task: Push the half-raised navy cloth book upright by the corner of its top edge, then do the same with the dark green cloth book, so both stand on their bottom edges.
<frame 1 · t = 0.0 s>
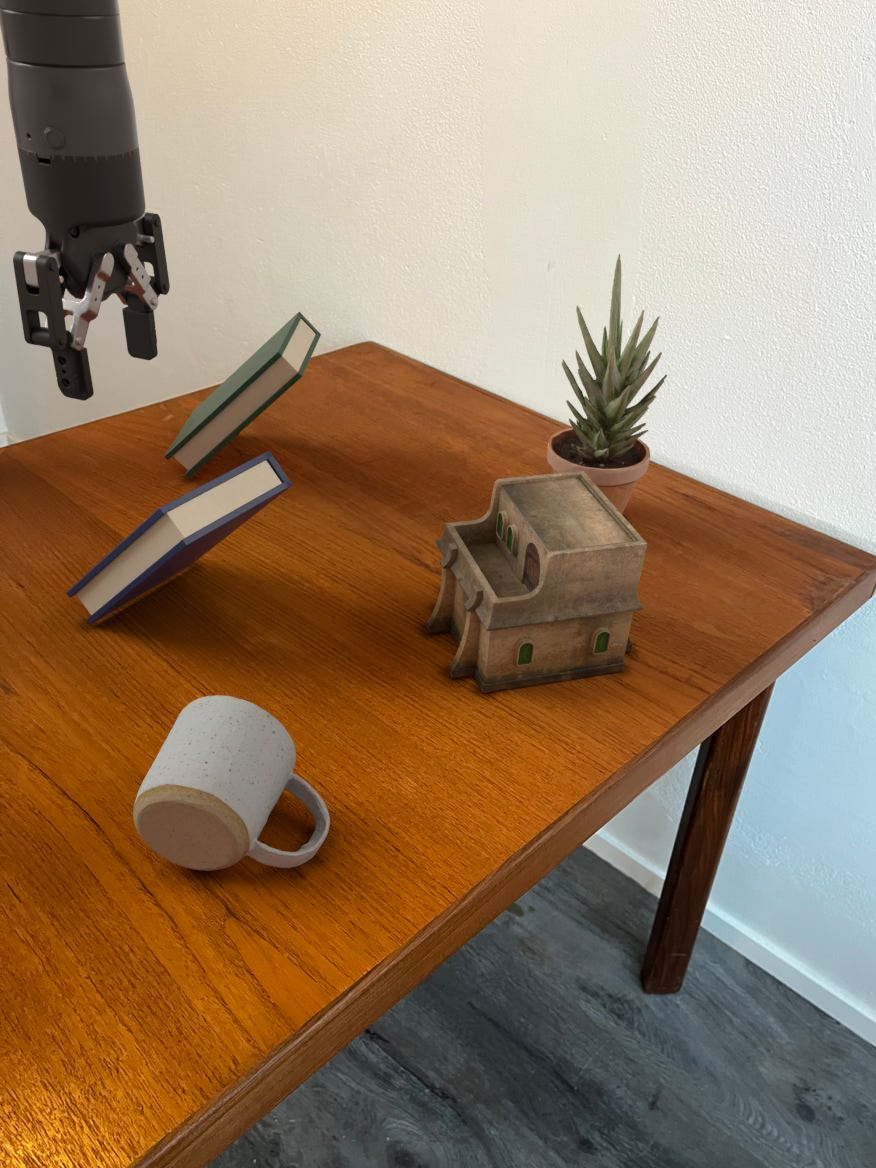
hand: (112, 376, 75), 16 cm above the table, tool pointing down, fingers open, 8 cm apart
green book: (244, 394, 98), point 7 cm above the table, hinge at 45.0°
potted plant: (587, 518, 98), on the table
miniature house: (523, 633, 81), on the table
ceramic mug: (241, 831, 62), on the table
navy book: (177, 539, 76), point 7 cm above the table, hinge at 45.0°
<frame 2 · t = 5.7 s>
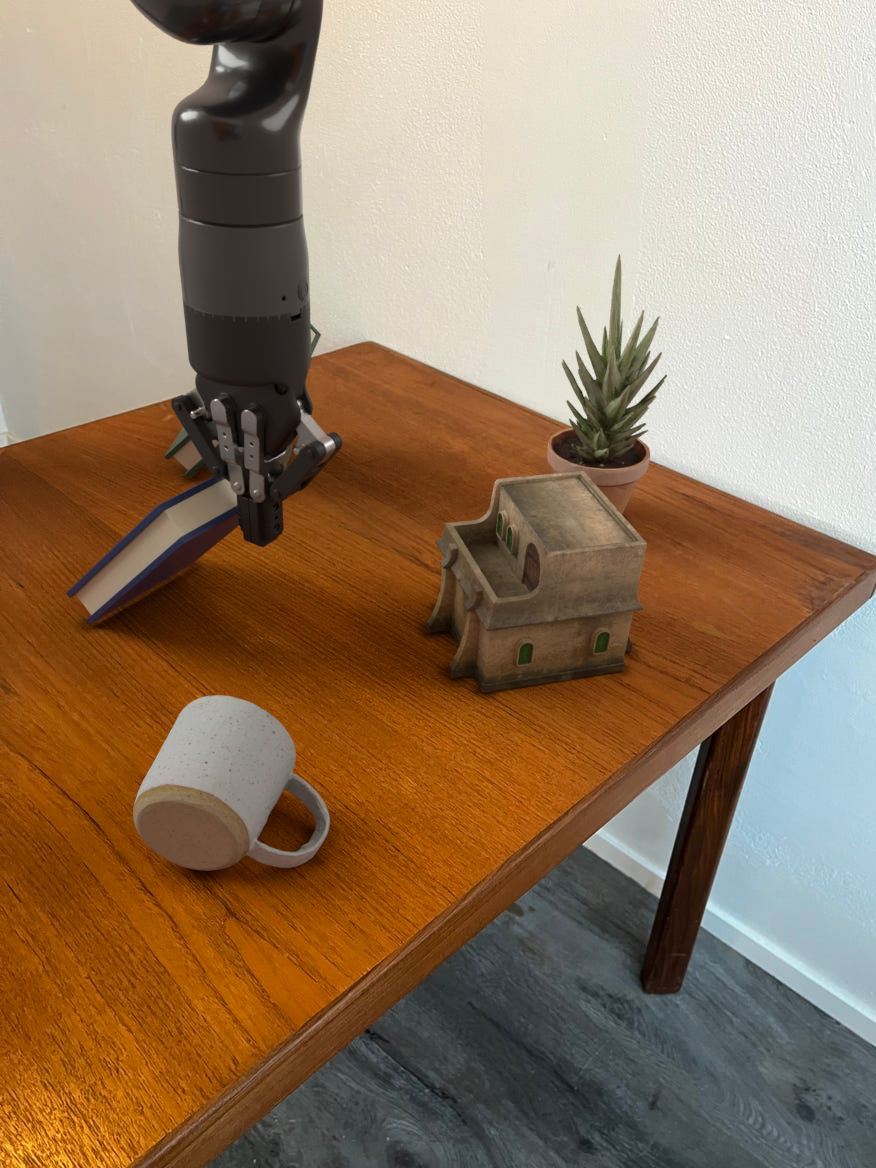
hand: (262, 539, 71), 10 cm above the table, tool pointing down, fingers closed
navy book: (176, 538, 76), point 7 cm above the table, hinge at 45.7°, touching gripper
everything else where it was.
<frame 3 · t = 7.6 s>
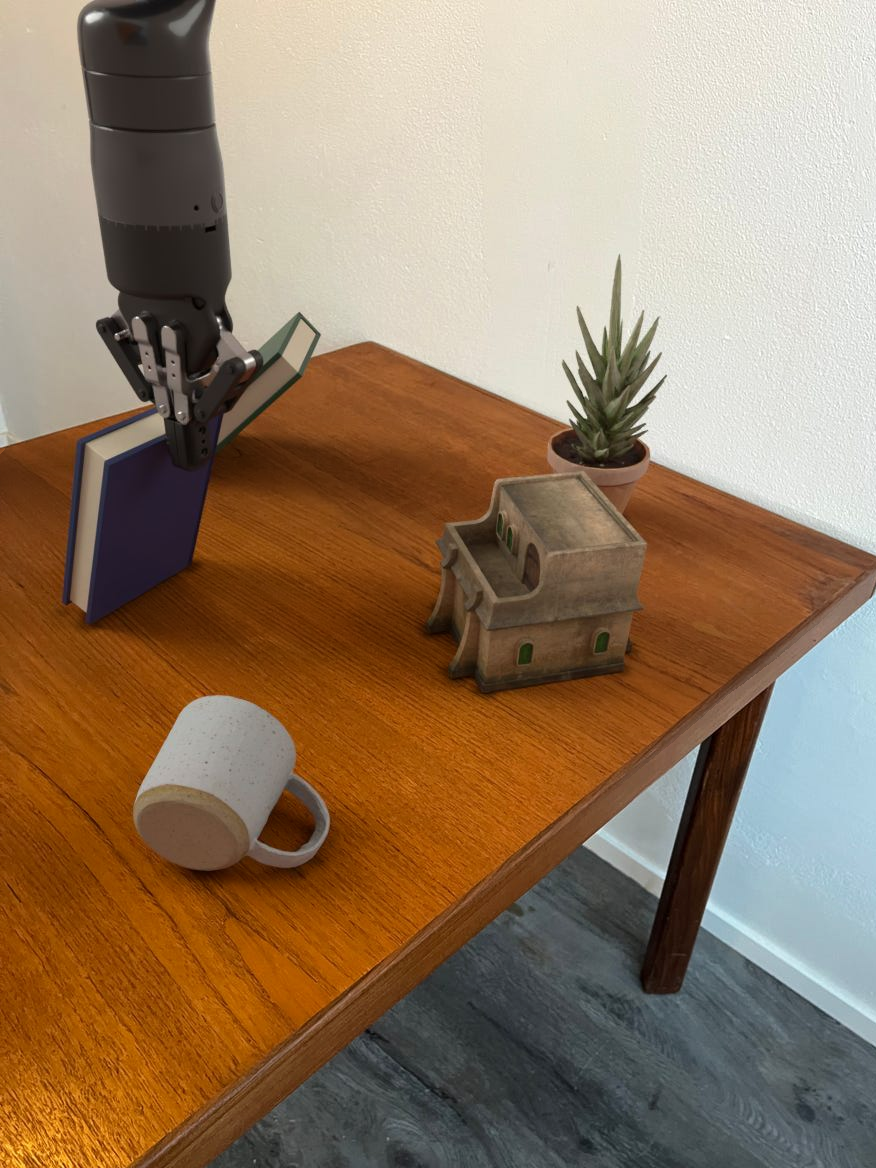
hand: (191, 465, 71), 14 cm above the table, tool pointing down, fingers closed
navy book: (141, 509, 76), point 8 cm above the table, hinge at 71.7°, touching gripper
everything else where it was.
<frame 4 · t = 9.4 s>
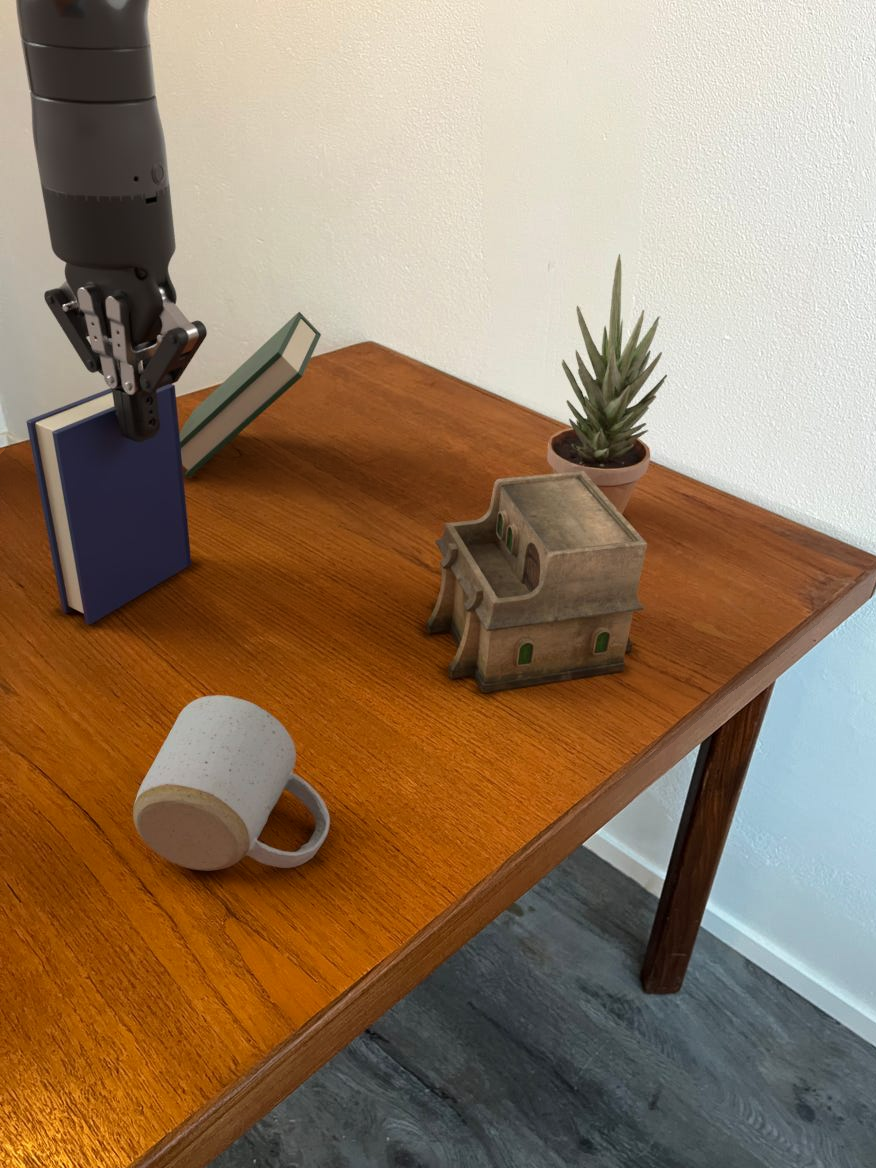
hand: (140, 436, 72), 14 cm above the table, tool pointing down, fingers closed
navy book: (117, 500, 77), point 8 cm above the table, hinge at 89.0°, touching gripper
everything else where it was.
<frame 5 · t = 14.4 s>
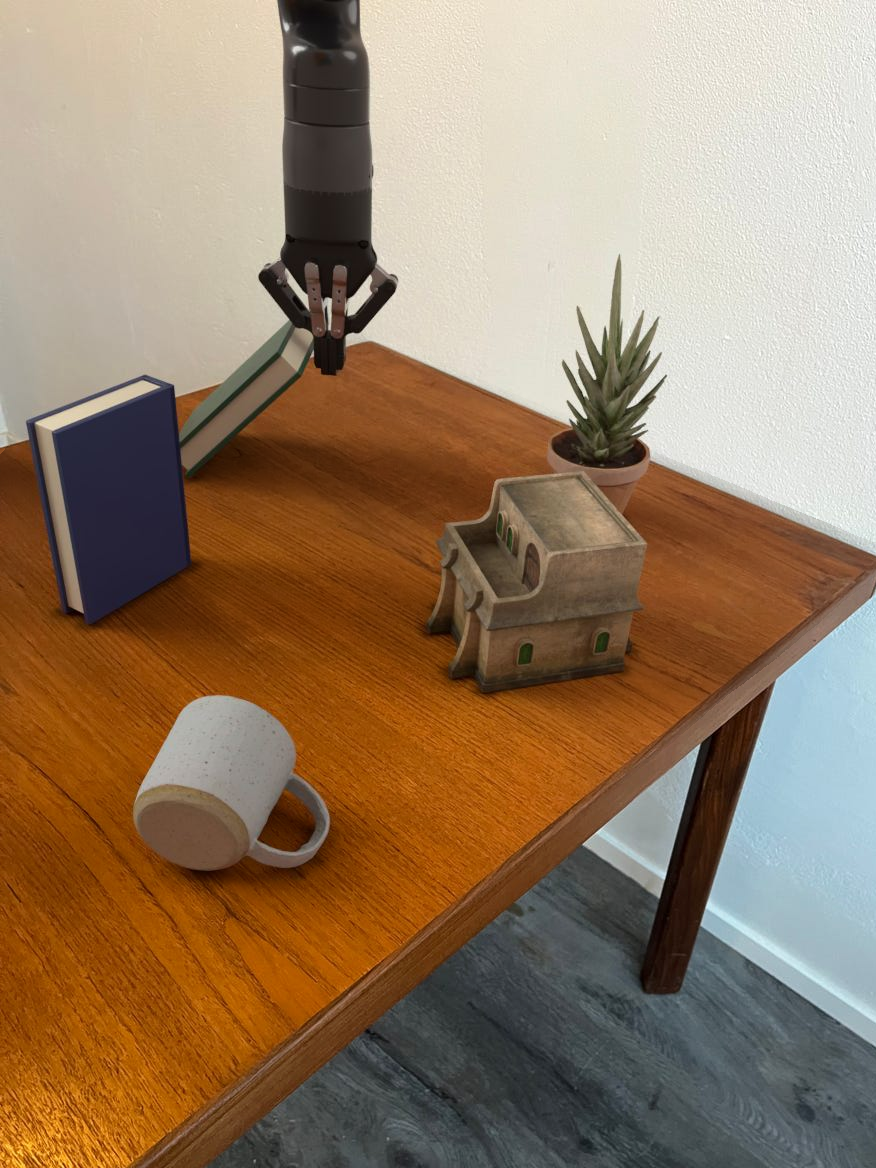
hand: (330, 372, 96), 10 cm above the table, tool pointing down, fingers closed
green book: (243, 394, 98), point 7 cm above the table, hinge at 45.2°, touching gripper
navy book: (117, 500, 77), point 8 cm above the table, hinge at 89.3°
everything else where it was.
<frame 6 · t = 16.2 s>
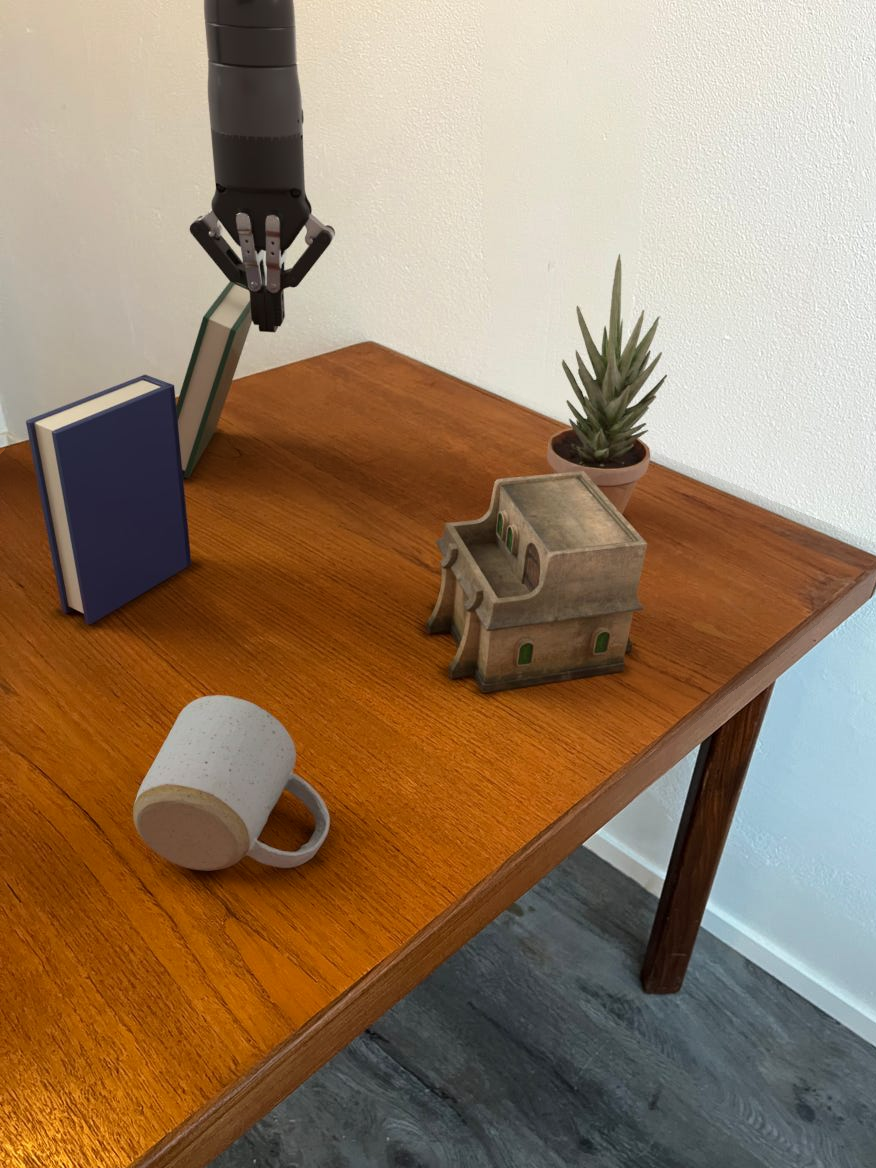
hand: (269, 329, 94), 13 cm above the table, tool pointing down, fingers closed
green book: (209, 378, 97), point 8 cm above the table, hinge at 69.5°, touching gripper
everything else where it was.
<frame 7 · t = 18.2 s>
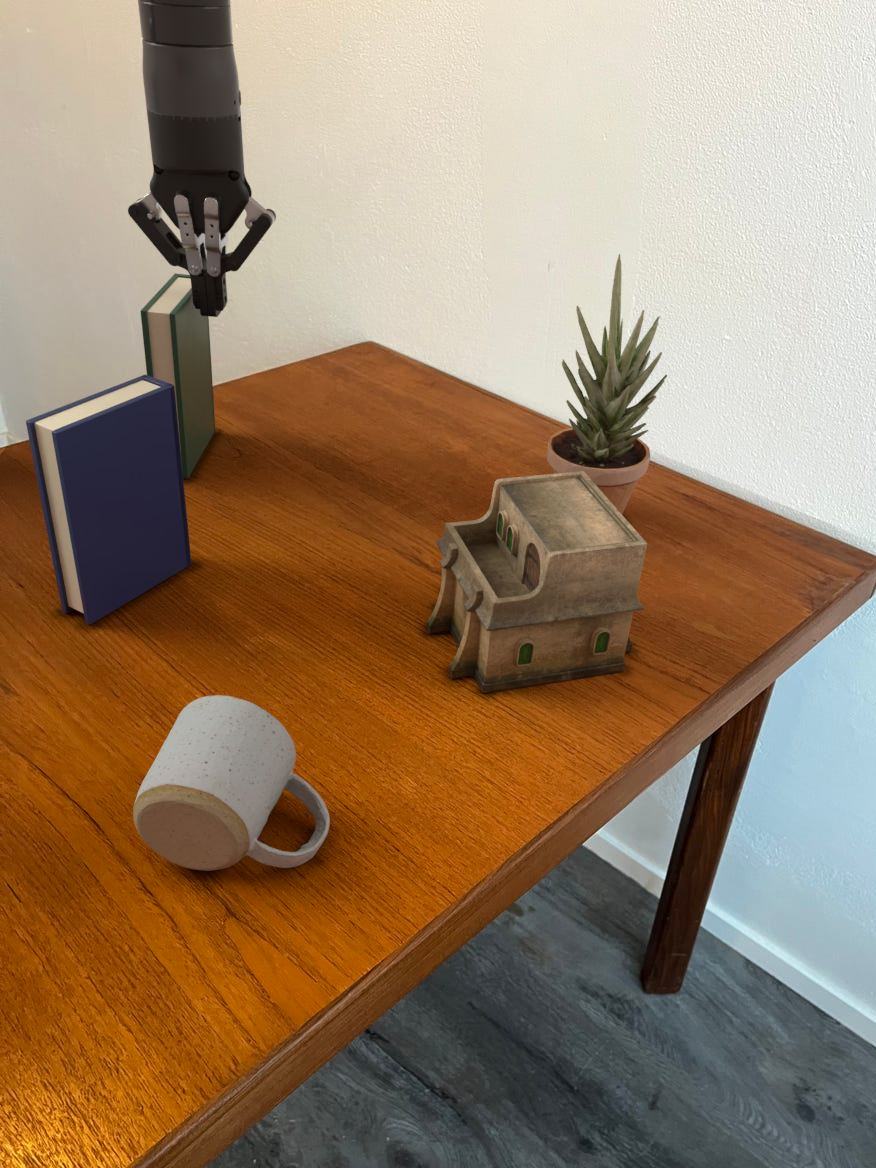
hand: (211, 313, 93), 14 cm above the table, tool pointing down, fingers closed
green book: (181, 376, 97), point 8 cm above the table, hinge at 88.8°, touching gripper
everything else where it was.
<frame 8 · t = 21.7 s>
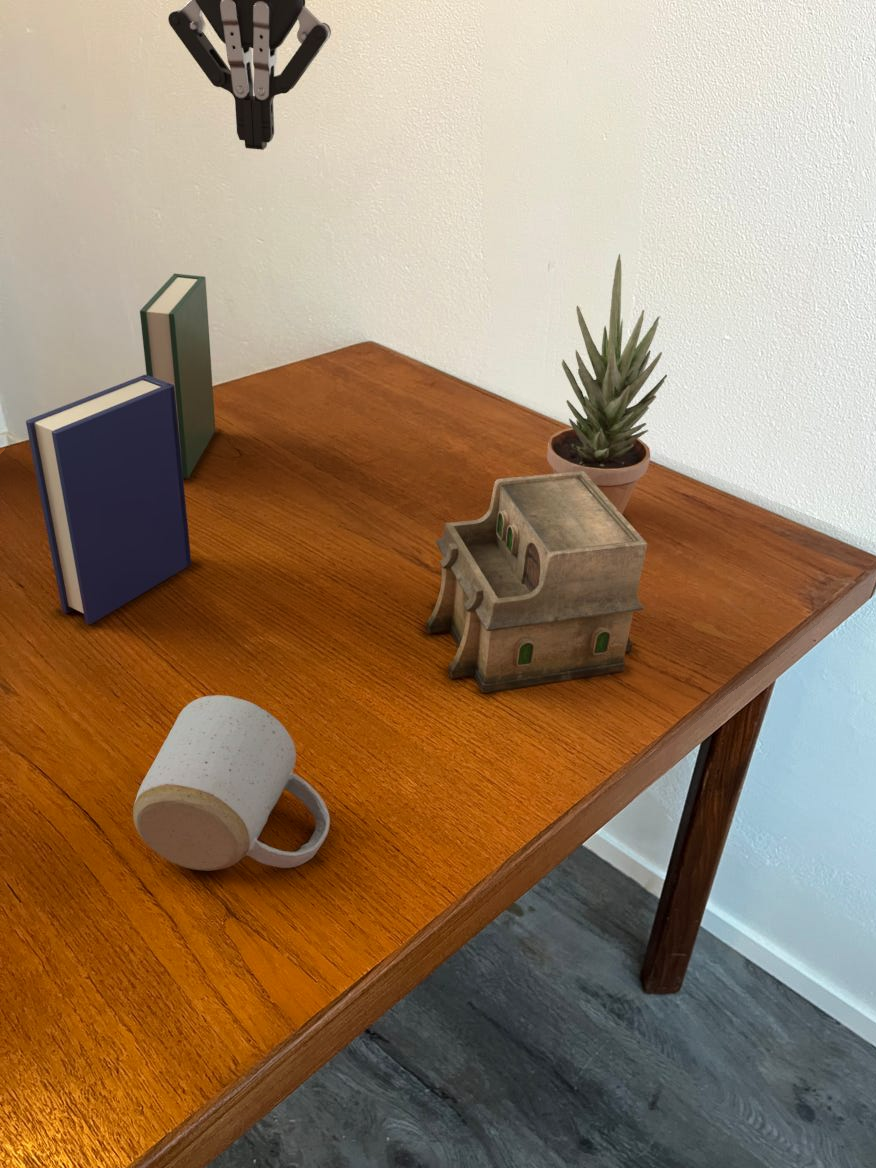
hand: (256, 147, 85), 29 cm above the table, tool pointing down, fingers closed
green book: (181, 376, 97), point 8 cm above the table, hinge at 89.0°
everything else where it was.
at the end: navy book at +89° (first picture: +45°); green book at +89° (first picture: +45°) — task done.
